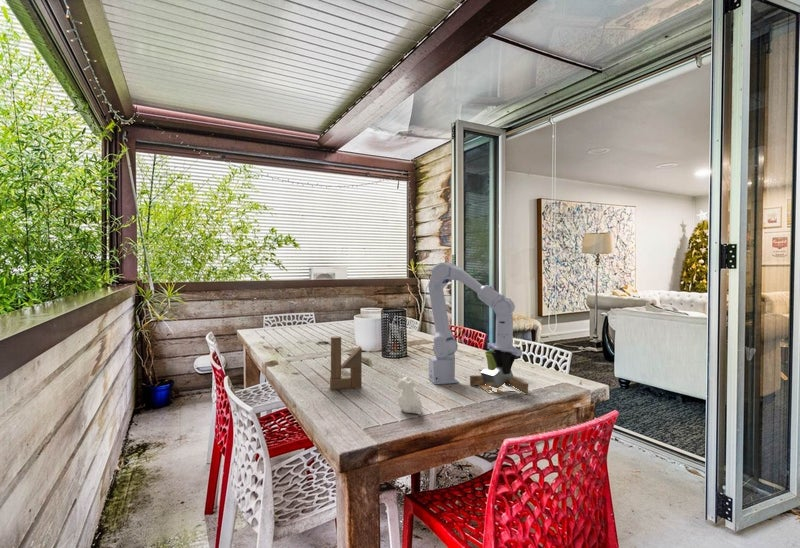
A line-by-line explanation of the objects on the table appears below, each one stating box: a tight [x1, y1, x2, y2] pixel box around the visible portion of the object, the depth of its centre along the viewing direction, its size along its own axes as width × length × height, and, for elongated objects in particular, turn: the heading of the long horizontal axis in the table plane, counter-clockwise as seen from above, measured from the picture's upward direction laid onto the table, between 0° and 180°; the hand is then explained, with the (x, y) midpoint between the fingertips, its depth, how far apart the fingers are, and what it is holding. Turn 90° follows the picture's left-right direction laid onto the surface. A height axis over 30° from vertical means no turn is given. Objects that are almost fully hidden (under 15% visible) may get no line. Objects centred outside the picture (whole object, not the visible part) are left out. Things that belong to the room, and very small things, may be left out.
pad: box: [478, 385, 504, 393], centre depth 143 cm, size 10×8×1 cm
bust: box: [396, 376, 423, 415], centre depth 121 cm, size 12×8×11 cm
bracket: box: [480, 363, 514, 388], centre depth 142 cm, size 8×6×5 cm
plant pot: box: [484, 349, 497, 371], centre depth 162 cm, size 9×9×9 cm
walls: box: [469, 374, 529, 394], centre depth 143 cm, size 15×14×3 cm
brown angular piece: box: [329, 335, 363, 390], centre depth 144 cm, size 4×11×18 cm, turn 103°
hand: (503, 372), depth 141 cm, fingers closed on bracket, 2 cm apart
